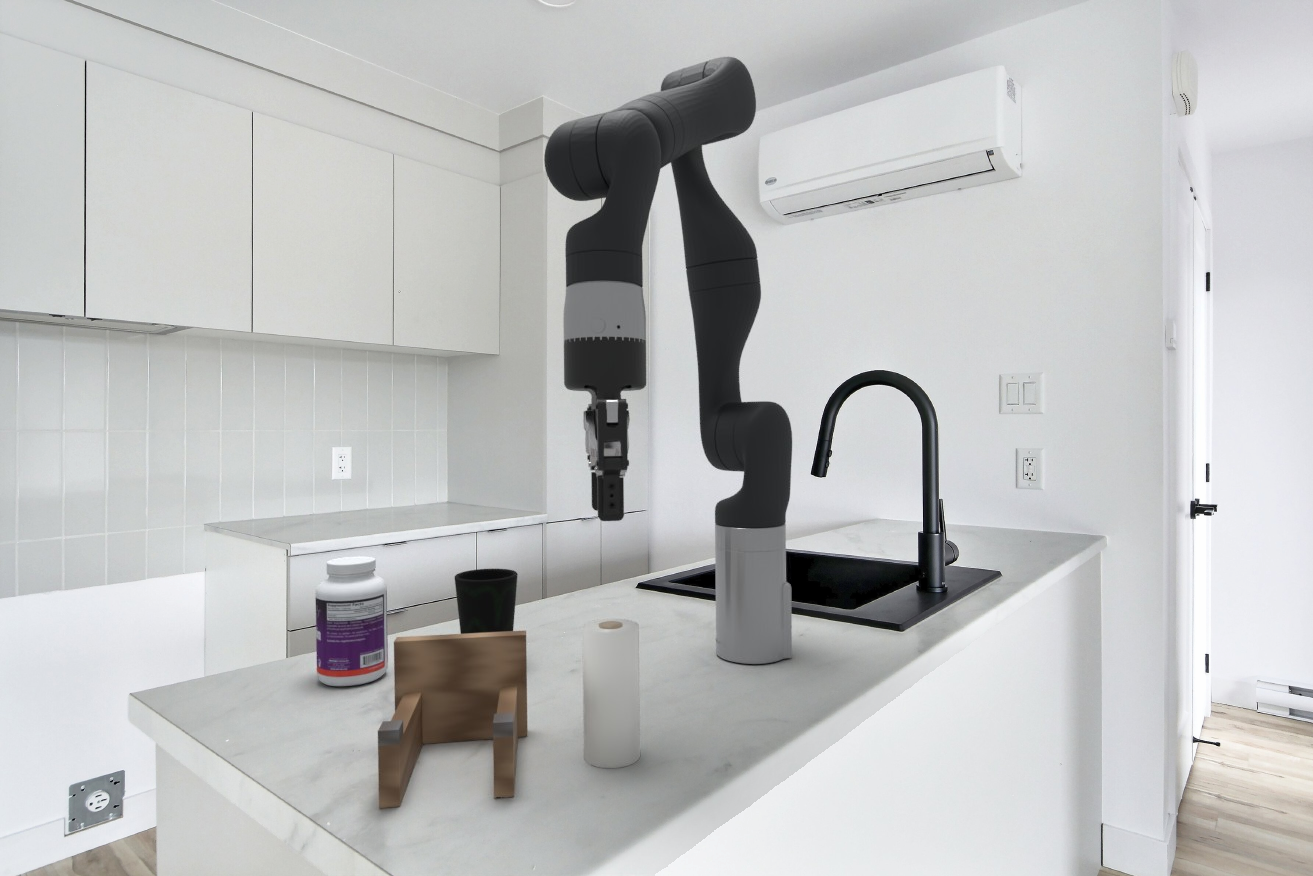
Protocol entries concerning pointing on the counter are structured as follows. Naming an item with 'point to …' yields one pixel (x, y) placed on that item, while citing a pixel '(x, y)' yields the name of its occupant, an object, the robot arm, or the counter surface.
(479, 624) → the cup
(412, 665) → the holder
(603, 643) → the roll
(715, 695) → the counter surface
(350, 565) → the pill bottle
